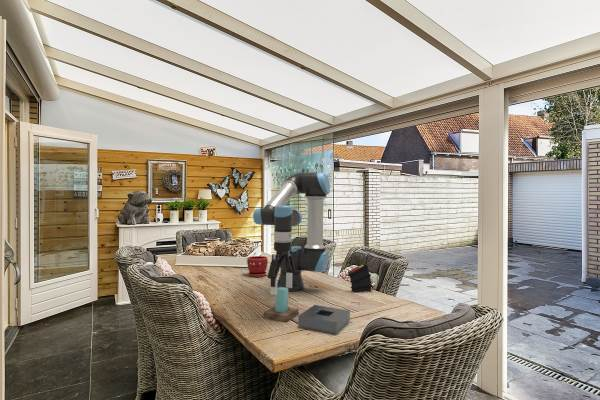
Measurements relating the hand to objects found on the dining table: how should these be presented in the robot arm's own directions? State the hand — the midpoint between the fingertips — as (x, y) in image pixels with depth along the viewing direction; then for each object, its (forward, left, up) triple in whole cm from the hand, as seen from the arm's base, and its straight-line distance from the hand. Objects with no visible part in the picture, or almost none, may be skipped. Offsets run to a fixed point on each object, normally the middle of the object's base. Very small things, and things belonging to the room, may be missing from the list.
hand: (281, 290), depth 154 cm
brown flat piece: (0, 0, -11) cm, 11 cm away
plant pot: (-51, +60, -11) cm, 80 cm away
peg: (0, 0, -11) cm, 11 cm away
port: (+20, 0, -11) cm, 23 cm away
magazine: (+18, +56, -11) cm, 60 cm away
